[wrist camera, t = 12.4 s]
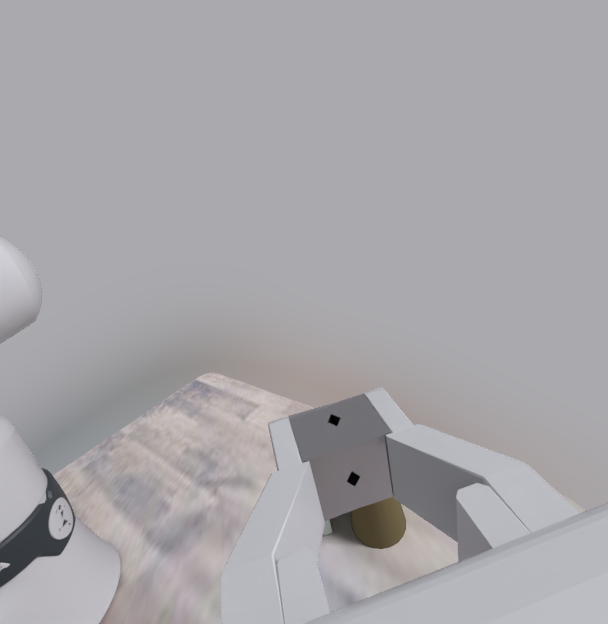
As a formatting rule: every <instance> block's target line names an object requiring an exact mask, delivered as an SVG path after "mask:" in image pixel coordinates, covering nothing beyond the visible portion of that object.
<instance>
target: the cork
mask: <svg viewBox="0 0 608 624" xmlns="http://www.w3.org/2000/svg"><path fill="white" fill-rule="evenodd" d="M351 523H352V528H353V532H354V533H355V535H356V537H357V538H358V539H359V540H360V541H361V542H362V543H363V544H365V545H367V546H370V547H372V548H379V549H383V548H388V547H391V546H393V545H395V544H396V543H398V542H399V541H400V539H401V538H402V537H403V535H404V533H405V530H406V519H405V516H404V513H403V509H402V506H401V503H400V502H399V501H397V500H396V499H394V497H391V498H388V499H385V500H382V501H379V502H376V503H373V504H370V505H366V506H363V507H360V508H358V509H355V510H352V511H351Z"/></svg>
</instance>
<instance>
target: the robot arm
mask: <svg viewBox="0 0 608 624" xmlns="http://www.w3.org/2000/svg"><path fill="white" fill-rule="evenodd" d="M41 302H42V289H41V284H40V280H39V277H38V274H37V272H36V270H35V268H34V267H33V265H32V263H31V262H30V261H29V259H28V258H27V257H26V256H25V255H24V254H23V253H22V252H21V251H20V250H19V249H18V248H17V247H16V246H14V245H13V244H12V243H10V242H9V241H7V240H6V239H4V238H3V237H1V236H0V343H2V342H4V341H5V340H7V339H9V338H10V337H12V336H14V335H15V334H17V333H18V332H20V331H21V330H23V329H24V328H26V327H27V326H29V325H30V324H32V323H33V322H35V320H36V319H37V316H38V314H39V311H40V307H41ZM268 427H269V432H270V437H271V442H272V446H273V451H274V456H275V461H276V466H277V470H278V471H277V472H274V473H272V474H271V476H270V478H269V480H268V482H267V484H266V486H265V488H264V490H263V492H262V494H261V496H260V498H259V500H258V502H257V504H256V506H255V508H254V510H253V512H252V514H251V516H250V518H249V520H248V522H247V524H246V526H245V528H244V529H243V531H242V533H241V535H240V537H239V539H238V541H237V543H236V545H235V547H234V549H233V551H232V553H231V555H230V557H229V559H228V561H227V563H226V565H225V567H224V569H223V571H222V573H221V624H608V503H605V504H603V505H600V506H598V507H595V508H593V509H590V510H587V511H585V512H582V513H580V512H578V511H577V510H576V509H575V508H574V507H573V506H572V505H571V504H570V503H569V502H568V501H567V500H565V499H564V498H563V497H562V496H561V495H560V494H559V493H558V492H557V491H556V490H555V489H554V488H552V487H551V486H550V485H549V484H548V483H547V482H546V481H545V480H544V479H543V478H542V477H541V476H539V475H538V474H537V473H536V472H535V471H534V470H533V469H532V468H531V467H530V466H529V465H528V464H526V463H524V462H521V461H518V460H516V459H513V458H510V457H508V456H505V455H502V454H499V453H497V452H494V451H491V450H489V449H486V448H483V447H481V446H478V445H475V444H472V443H470V442H467V441H464V440H462V439H459V438H456V437H453V436H451V435H448V434H445V433H443V432H440V431H437V430H435V429H432V428H429V427H426V426H424V425H421V424H418V425H415V426H414V425H413V424H412V423H411V422H410V420H409V419H408V418H407V417H406V415H405V414H404V413H403V412H402V410H401V409H400V408H399V407H398V405H397V404H396V403H395V402H394V401H393V399H392V398H391V397H390V396H389V394H388V393H387V392H386V391H385V389H383V388H381V387H380V388H377V389H374V390H371V391H368V392H365V393H363V394H361V395H358V396H355V397H352V398H348V399H345V400H342V401H339V402H336V403H333V404H330V405H327V406H322V407H319V408H315V409H312V410H308V411H305V412H301V413H298V414H295V415H291V416H289V418H288V417H285V418H282V419H278V420H275V421H272V422H269V424H268ZM391 497H394V499H396V500H397V501H399V502H400V503H402V504H403V505H405V506H406V507H407V508H409V509H410V510H412V511H413V512H415V513H416V514H418V515H419V516H420V517H422V518H423V519H425V520H426V521H428V522H429V523H431V524H432V525H434V526H435V527H436V528H438V529H439V530H441V531H442V532H444V533H445V534H447V535H448V536H449V537H451V538H452V539H454V540H455V541H457V542H458V559H459V562H457V563H455V564H452V565H450V566H447V567H445V568H442V569H440V570H437V571H434V572H432V573H429V574H427V575H424V576H422V577H419V578H417V579H414V580H412V581H409V582H407V583H404V584H402V585H399V586H397V587H394V588H392V589H389V590H387V591H384V592H381V593H379V594H376V595H374V596H371V597H369V598H366V599H364V600H361V601H359V602H356V603H354V604H351V605H349V606H346V607H344V608H341V609H339V610H336V611H333V612H331V611H330V608H329V604H328V601H327V597H326V594H325V590H324V586H323V583H322V579H321V576H320V572H319V569H318V565H317V558H318V554H319V550H320V545H321V541H322V536H323V532H324V527H325V521H327V520H330V519H332V518H335V517H337V516H340V515H342V514H345V513H347V512H350V511H352V510H355V509H358V508H360V507H363V506H366V505H370V504H373V503H376V502H379V501H382V500H385V499H388V498H391ZM119 577H120V559H119V555H118V553H117V551H116V549H115V548H114V547H113V546H112V545H111V544H109V543H107V542H106V541H104V540H103V539H101V538H100V537H99V536H97V535H96V534H95V533H94V532H92V531H91V530H90V529H89V528H88V527H87V526H86V525H85V524H84V523H83V522H82V521H81V520H80V519H79V518H78V517H77V516H76V515H75V514H74V512H73V509H72V507H71V505H70V503H69V501H68V498H67V496H66V495H65V493H64V492H63V490H62V489H61V487H60V485H59V484H58V483H57V481H56V480H55V478H54V477H53V476H52V474H51V473H50V472H49V471H48V470H46V469H43V468H41V467H40V465H39V464H38V462H37V461H36V459H35V458H34V456H33V454H32V453H31V451H30V450H29V448H28V447H27V445H26V444H25V442H24V441H23V439H22V438H21V436H20V434H19V433H18V431H17V430H16V428H15V427H14V425H13V424H12V423H11V422H10V421H9V420H8V419H7V418H5V417H3V416H2V415H0V624H99V622H100V621H101V619H102V618H103V616H104V614H105V613H106V611H107V609H108V607H109V605H110V603H111V601H112V599H113V597H114V594H115V591H116V588H117V585H118V582H119Z"/></svg>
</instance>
